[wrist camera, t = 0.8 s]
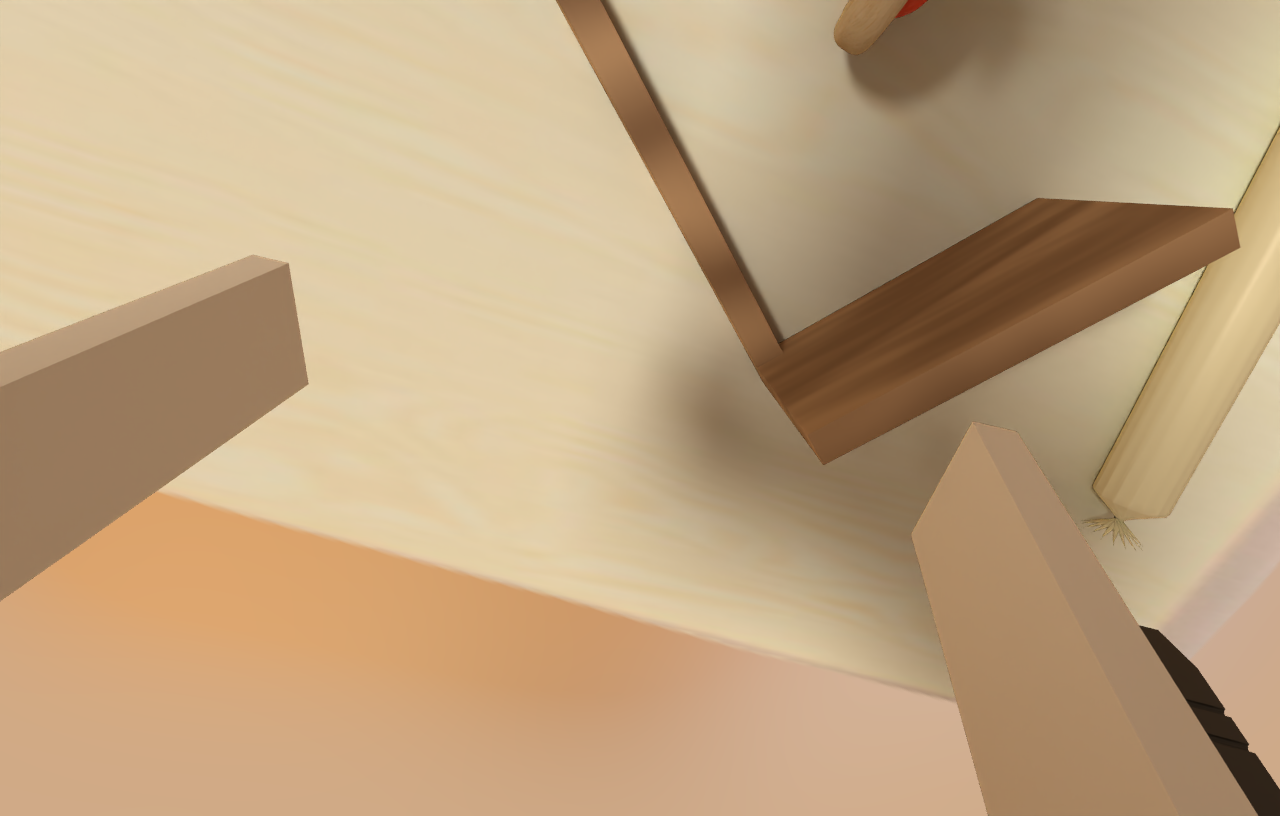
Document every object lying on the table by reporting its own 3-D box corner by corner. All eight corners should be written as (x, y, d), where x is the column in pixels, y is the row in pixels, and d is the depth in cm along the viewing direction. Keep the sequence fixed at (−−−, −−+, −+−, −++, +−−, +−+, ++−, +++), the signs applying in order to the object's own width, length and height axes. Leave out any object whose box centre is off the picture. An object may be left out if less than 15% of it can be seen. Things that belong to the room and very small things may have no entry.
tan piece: (1060, 514, 37) (1106, 549, 33) (1354, -67, 26) (1465, -103, 23) (1114, 522, 37) (1165, 558, 34) (1424, -46, 27) (1543, -79, 23)
